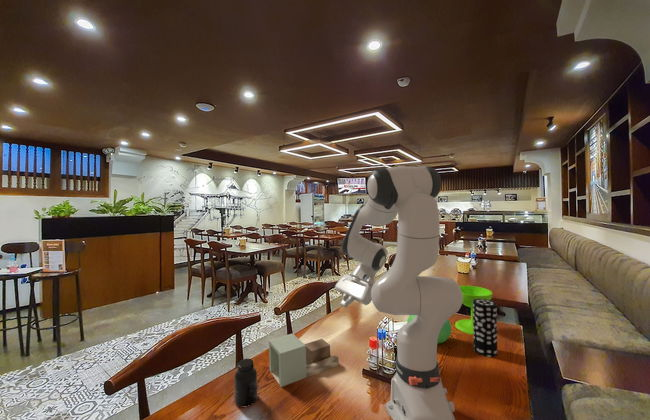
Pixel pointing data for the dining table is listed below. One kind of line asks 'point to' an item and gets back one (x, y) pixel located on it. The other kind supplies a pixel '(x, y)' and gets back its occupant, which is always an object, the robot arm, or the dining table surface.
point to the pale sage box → (287, 358)
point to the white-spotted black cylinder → (485, 327)
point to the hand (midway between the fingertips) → (343, 305)
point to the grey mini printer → (315, 367)
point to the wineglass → (471, 305)
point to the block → (317, 351)
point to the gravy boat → (444, 330)
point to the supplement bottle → (245, 383)
